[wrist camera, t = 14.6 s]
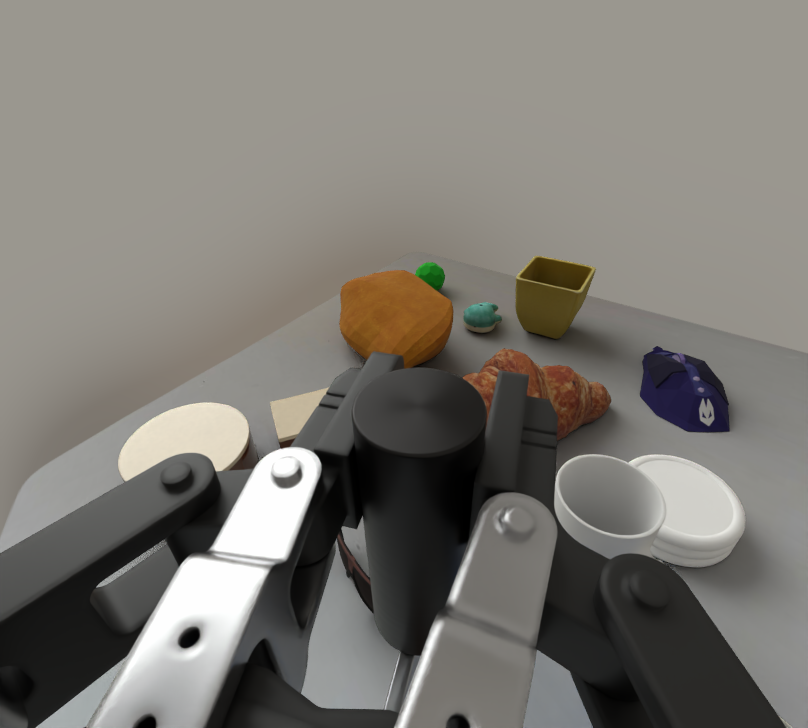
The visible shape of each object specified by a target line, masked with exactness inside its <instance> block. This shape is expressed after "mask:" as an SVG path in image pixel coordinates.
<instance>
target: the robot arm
mask: <svg viewBox="0 0 808 728" xmlns="http://www.w3.org/2000/svg"><path fill="white" fill-rule="evenodd" d="M400 369H404V359H403V356H402V355H395V354H388V353H382V352H375V351H374V352H372V353H371V355H370V357H369V358H368V360H367V361H366V363H365V365H364V366H363V368H362V369H357V368H350V369H348V370H347V371H345V372H344V373H342V374H341V375H340V376H338V377H337V378H335V380H334V381H333V383H332V384H331V386H330V387H329V389H328V390H327V392H326V395H324V396H323V398H322V399H321V401H320V402H319V406H317V407H316V408H315V410H314V411H313V413H312V414H311V416H310V417H309V419H308V420H307V422H306V423H305V425H304V426H303V428H302V429H301V431H300V432H299V434H298V435H297V437H296V438H295V440H294V441H293V443H292V444H291V446H290V447H288V448H283V449H279V450H276V451H274V452H272V453H270V454H268V455H267V456H265V457H264V458H263V459H262V460H261V461H260V462H259V463H258V464H257V465H256V467H255V468H253V469H245V470H229V471H216V470H215V468H214V465H213V463H212V461H211V460H210V459H209V458H208V457H207V456H205V455H203V454H199V453H182V454H178V455H174V456H172V457H169V458H167V459H165V460H163V461H161V462H159V463H158V464H156V465H154V466H152V467H151V468H149V469H147V470H145V471H144V472H142V473H140V474H138V475H137V476H135V477H133V478H131V479H130V480H128V481H126V482H124V483H123V484H121V485H119V486H117V487H116V488H114V489H112V490H110V491H109V492H107V493H105V494H103V495H102V496H100V497H98V498H96V499H95V500H93V501H91V502H89V503H88V504H86V505H84V506H82V507H81V508H79V509H77V510H75V511H74V512H72V513H70V514H68V515H67V516H65V517H63V518H61V519H60V520H58V521H56V522H54V523H53V524H51V525H49V526H47V527H46V528H44V529H42V530H40V531H39V532H37V533H35V534H33V535H32V536H30V537H28V538H26V539H25V540H23V541H21V542H19V543H18V544H16V545H14V546H12V547H11V548H9V549H7V550H5V551H4V552H2V553H0V728H35V727H37V726H38V725H39V724H41V723H42V722H43V721H44V720H46V719H47V718H48V717H50V716H51V715H52V714H53V713H55V712H56V711H57V710H58V709H60V708H61V707H62V706H64V705H65V704H66V703H67V702H69V701H70V700H71V699H73V698H74V697H75V696H76V695H78V694H79V693H80V692H81V691H83V690H84V689H85V688H87V687H88V686H89V685H90V684H92V683H93V682H94V681H96V680H97V679H98V678H99V677H101V676H102V675H103V674H104V673H106V672H107V671H108V670H110V669H111V668H112V667H113V666H115V665H116V664H117V663H119V662H120V661H121V660H122V659H124V658H125V657H126V656H127V655H128V656H127V658H126V659H125V661H124V663H123V664H122V666H121V668H120V670H119V671H118V673H117V675H116V676H115V678H114V680H113V682H112V683H111V685H110V687H109V688H108V690H107V692H106V694H105V695H104V697H103V699H102V700H101V702H100V704H99V706H98V707H97V709H96V711H95V712H94V714H93V716H92V718H91V719H90V721H89V723H88V724H87V726H86V727H84V728H523V723H524V718H525V713H526V708H527V702H528V697H529V692H530V687H531V681H532V676H533V671H534V665H535V659H536V652H537V650H539V651H540V652H542V653H543V654H545V655H546V656H548V657H549V658H551V659H552V660H554V661H556V662H557V663H559V664H560V665H562V666H563V667H565V668H566V669H568V670H569V671H570V673H571V675H572V678H573V681H574V683H575V685H576V688H577V690H578V693H579V695H580V697H581V700H582V702H583V704H584V707H585V709H586V712H587V714H588V716H589V719H590V721H591V723H592V726H593V728H786V726H785V725H784V723H783V722H782V720H781V719H780V718H779V716H778V715H777V713H776V712H775V710H774V709H773V707H772V706H771V705H770V703H769V702H768V700H767V699H766V697H765V696H764V695H763V693H762V692H761V690H760V689H759V687H758V686H757V685H756V683H755V682H754V680H753V679H752V677H751V676H750V675H749V673H748V672H747V670H746V669H745V667H744V666H743V664H742V663H741V662H740V660H739V659H738V657H737V656H736V654H735V653H734V652H733V650H732V649H731V647H730V646H729V644H728V643H727V642H726V640H725V639H724V637H723V636H722V634H721V633H720V631H719V630H718V629H717V627H716V626H715V624H714V623H713V621H712V620H711V619H710V617H709V616H708V614H707V613H706V611H705V610H704V609H703V607H702V606H701V604H700V603H699V601H698V600H697V599H696V597H695V596H694V594H693V593H692V591H691V590H690V588H689V587H688V586H687V584H686V583H685V582H684V581H683V579H682V578H681V577H680V576H679V575H678V574H677V573H676V572H675V571H673V570H672V569H671V568H670V567H668V566H667V565H665V564H664V563H662V562H660V561H658V560H656V559H654V558H651V557H649V556H646V555H641V554H633V553H628V554H621V555H618V556H615V557H613V558H612V559H608V558H606V557H605V556H603V555H601V554H599V553H597V552H595V551H593V550H591V549H589V548H587V547H586V546H584V545H582V544H581V543H579V542H578V541H576V540H575V539H574V538H573V537H572V536H570V535H569V534H568V533H567V532H566V530H565V529H564V528H563V527H562V525H561V523H560V522H559V520H558V518H557V515H556V512H555V507H554V496H555V473H556V447H557V426H558V415H557V413H556V411H555V409H554V407H553V406H552V404H551V402H550V400H549V399H543V398H537V397H531V396H527V389H528V382H529V375H528V374H521V373H515V372H508V371H501V370H499V371H498V375H497V380H496V385H495V389H494V394H493V398H492V403H491V408H490V412H489V417H488V421H487V426H486V431H485V437H484V447H483V455H482V458H481V461H480V463H479V465H478V467H477V472H476V477H475V481H474V489H473V499H472V510H471V520H470V530H469V540H468V545H467V548H466V550H465V553H464V556H463V559H462V562H461V564H460V567H459V570H458V573H457V575H456V578H455V581H454V584H453V587H452V589H451V592H450V595H449V598H448V600H447V602H446V605H445V606H444V608H441V609H440V610H439V612H438V614H437V615H436V618H435V620H434V622H433V625H432V627H431V630H430V632H429V635H428V638H427V640H426V643H425V646H424V649H423V651H422V654H421V657H420V659H419V662H418V665H417V667H416V670H415V673H414V676H413V678H412V681H411V684H410V686H409V689H408V692H407V694H406V697H405V700H404V703H403V705H402V708H401V711H400V713H397V712H394V711H391V710H374V709H326V708H321V707H318V706H316V705H315V704H313V703H312V702H311V701H310V700H308V699H307V698H306V697H304V696H303V695H302V694H301V691H302V688H303V684H304V680H305V675H306V669H307V662H308V646H309V640H310V635H311V632H312V628H313V625H314V622H315V618H316V615H317V612H318V609H319V605H320V602H321V599H322V596H323V592H324V589H325V586H326V582H327V579H328V576H329V573H330V569H331V566H332V563H333V559H334V556H335V552H336V545H335V541H336V538H337V536H338V534H339V532H340V530H341V528H342V526H346V527H350V528H354V529H357V527H358V525H359V523H360V520H361V518H362V516H363V512H362V503H361V495H360V486H359V477H358V468H357V460H356V451H355V442H354V433H353V425H352V416H351V413H352V406H353V403H354V400H355V398H356V396H357V395H358V393H359V392H360V390H361V389H362V388H363V387H364V386H365V385H367V384H368V383H369V382H370V381H372V380H373V379H375V378H377V377H379V376H381V375H383V374H386V373H388V372H392V371H395V370H400ZM164 539H165V541H166V543H167V545H165V546H164V547H162V548H161V549H159V550H158V551H156V552H155V553H153V554H152V555H151V556H149V557H148V558H146V559H145V560H143V561H142V562H140V563H139V564H137V565H136V566H134V567H133V568H131V569H130V570H129V571H127V572H126V573H124V574H123V575H121V576H120V577H118V578H117V579H115V580H114V581H112V582H111V583H109V584H107V585H105V586H102V587H97V588H96V586H97V585H98V584H99V583H100V582H102V581H103V580H104V579H106V578H107V577H109V576H110V575H112V574H113V573H115V572H116V571H118V570H119V569H121V568H122V567H124V566H125V565H127V564H128V563H129V562H131V561H132V560H134V559H135V558H137V557H138V556H140V555H141V554H143V553H144V552H146V551H147V550H149V549H150V548H152V547H153V546H155V545H156V544H158V543H159V542H161V541H162V540H164Z"/></svg>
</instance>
